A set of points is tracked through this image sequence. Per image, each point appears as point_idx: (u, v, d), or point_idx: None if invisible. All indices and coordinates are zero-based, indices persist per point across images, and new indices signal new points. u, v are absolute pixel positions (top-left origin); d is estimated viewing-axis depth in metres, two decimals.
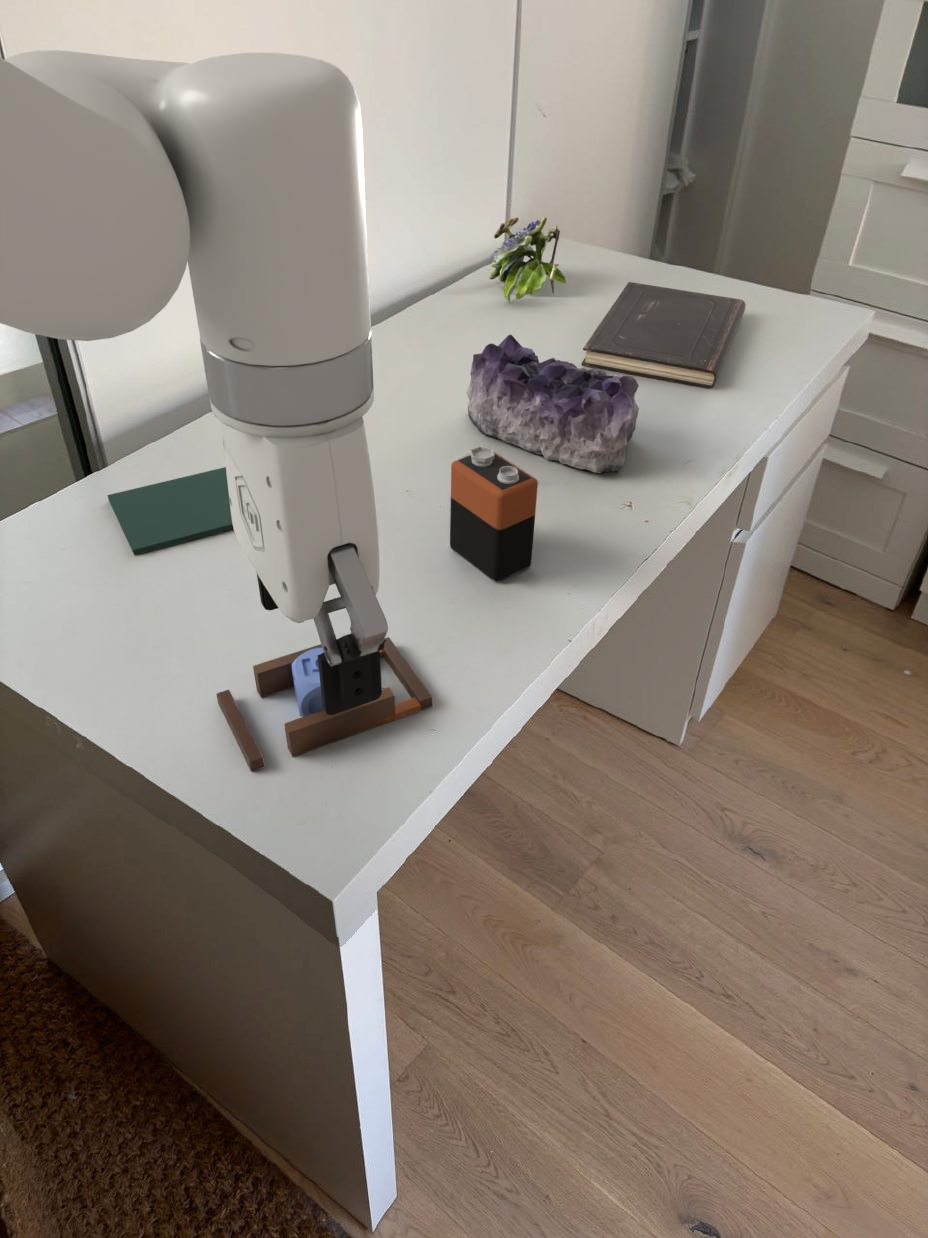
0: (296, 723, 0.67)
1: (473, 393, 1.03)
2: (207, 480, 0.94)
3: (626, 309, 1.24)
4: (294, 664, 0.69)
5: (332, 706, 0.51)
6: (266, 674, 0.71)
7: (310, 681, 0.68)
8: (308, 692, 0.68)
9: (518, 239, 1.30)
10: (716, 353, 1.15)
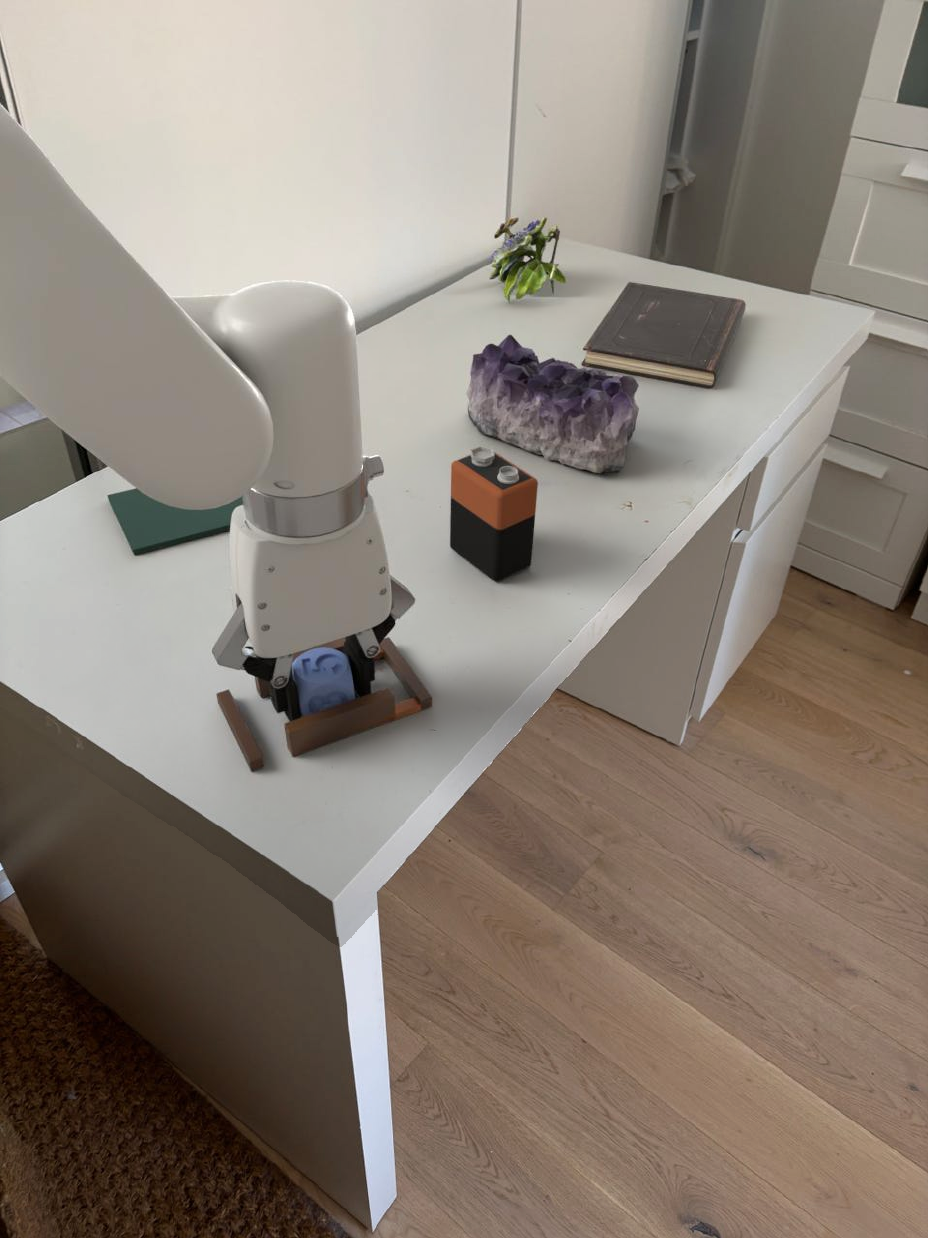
0: (296, 723, 0.67)
1: (473, 393, 1.03)
2: None
3: (626, 309, 1.24)
4: (294, 664, 0.69)
5: None
6: None
7: (309, 681, 0.68)
8: (308, 692, 0.68)
9: (518, 239, 1.30)
10: (716, 353, 1.15)
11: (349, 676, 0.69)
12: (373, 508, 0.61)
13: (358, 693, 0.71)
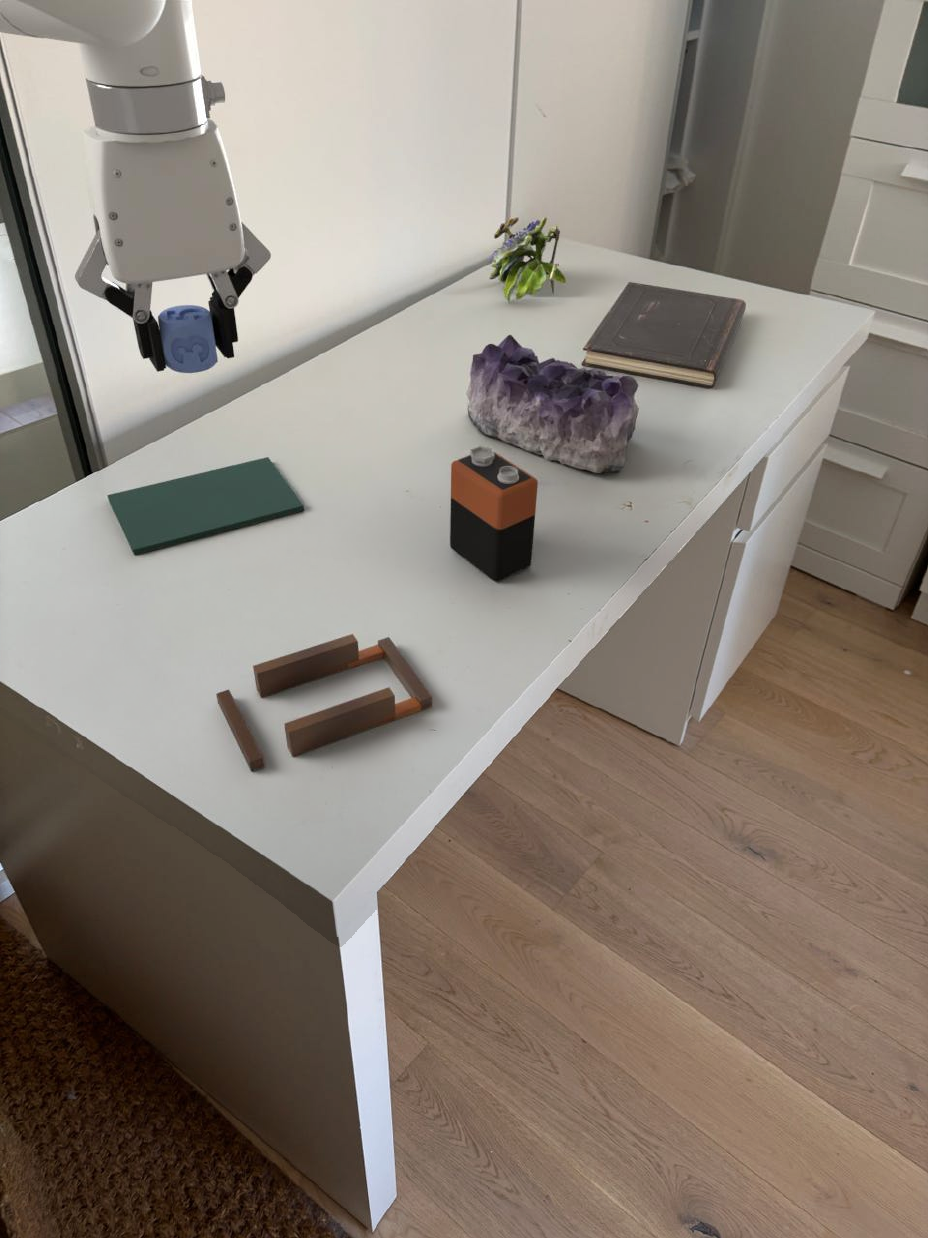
0: (296, 723, 0.67)
1: (473, 393, 1.03)
2: (207, 480, 0.94)
3: (627, 309, 1.24)
4: None
5: None
6: (266, 674, 0.71)
7: (171, 323, 0.74)
8: (170, 332, 0.74)
9: (518, 239, 1.30)
10: (716, 353, 1.15)
11: (209, 323, 0.75)
12: (215, 129, 0.67)
13: (222, 351, 0.78)
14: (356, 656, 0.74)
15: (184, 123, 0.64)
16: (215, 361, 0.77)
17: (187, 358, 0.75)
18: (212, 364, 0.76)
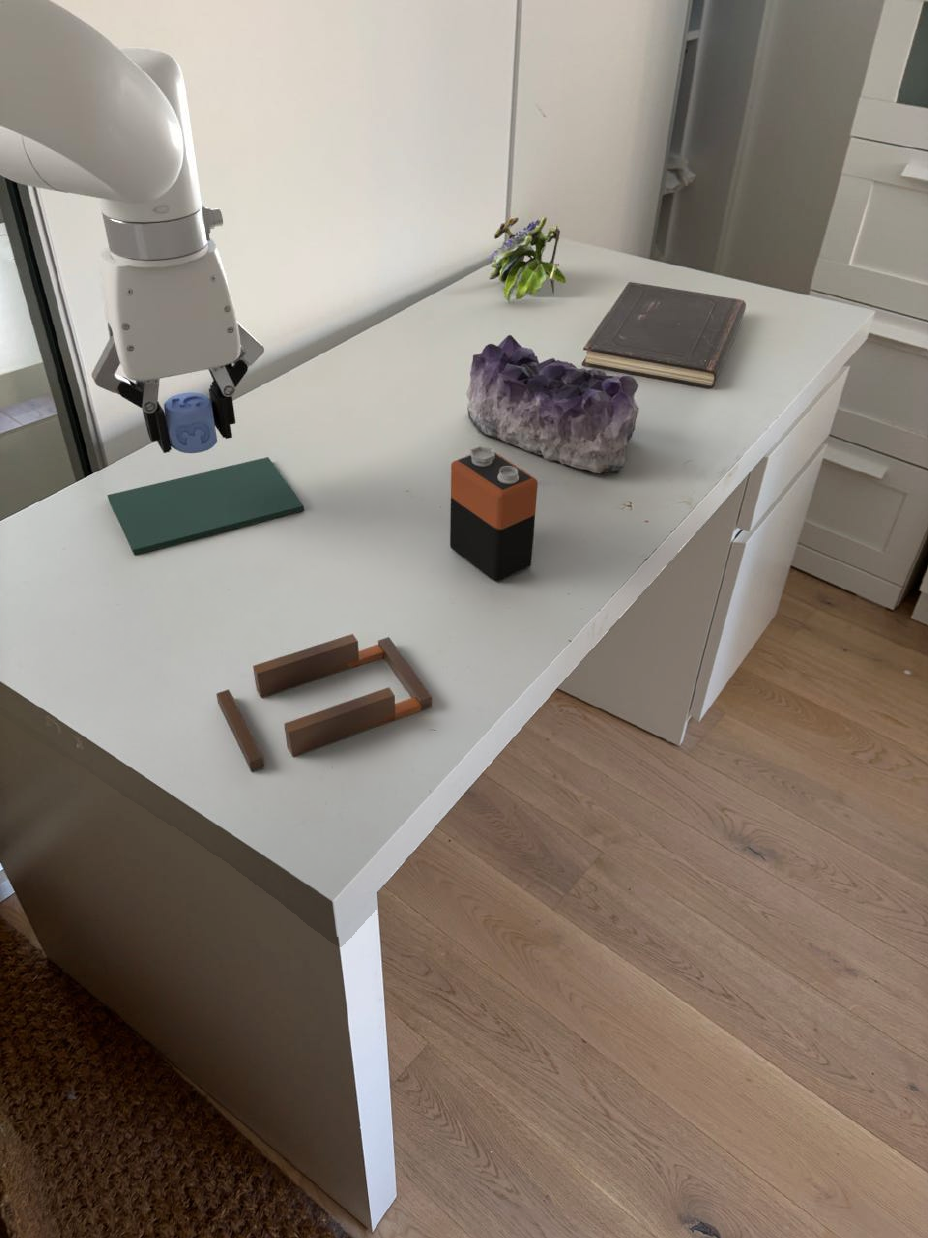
0: (296, 723, 0.67)
1: (473, 393, 1.03)
2: (207, 480, 0.94)
3: (627, 309, 1.24)
4: None
5: None
6: (266, 674, 0.71)
7: (176, 411, 0.83)
8: (175, 420, 0.83)
9: (518, 239, 1.30)
10: (716, 353, 1.15)
11: (209, 410, 0.85)
12: (214, 250, 0.77)
13: (221, 432, 0.87)
14: (356, 656, 0.74)
15: (187, 249, 0.74)
16: (215, 442, 0.86)
17: (190, 441, 0.85)
18: (212, 445, 0.86)
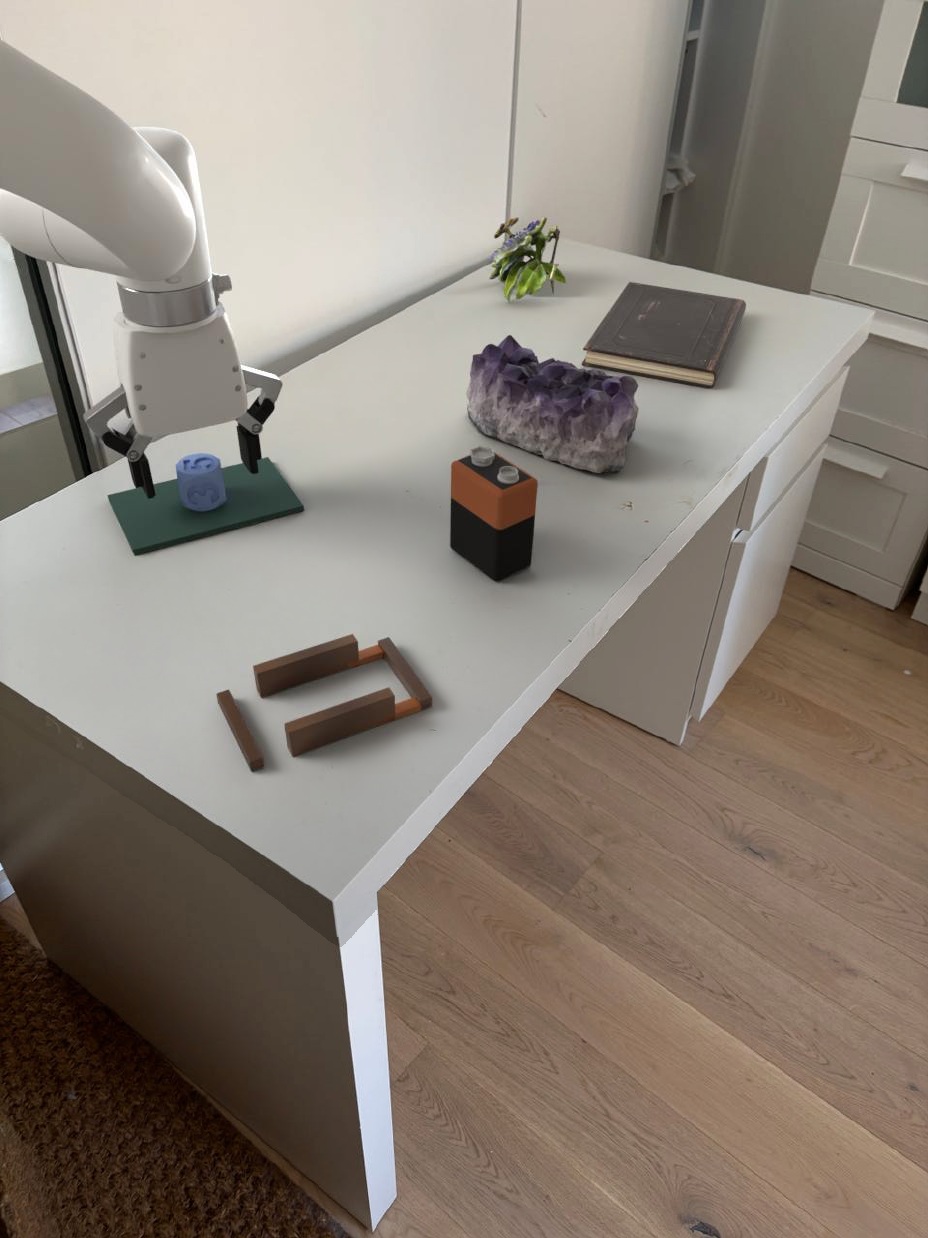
0: (296, 723, 0.67)
1: (473, 393, 1.03)
2: None
3: (627, 309, 1.24)
4: (177, 463, 0.89)
5: None
6: (266, 674, 0.71)
7: (187, 473, 0.87)
8: (186, 481, 0.87)
9: (518, 239, 1.30)
10: (716, 353, 1.15)
11: (219, 471, 0.88)
12: (223, 314, 0.80)
13: (248, 468, 0.91)
14: (356, 656, 0.74)
15: (198, 315, 0.77)
16: (224, 501, 0.90)
17: (200, 500, 0.89)
18: (221, 503, 0.90)
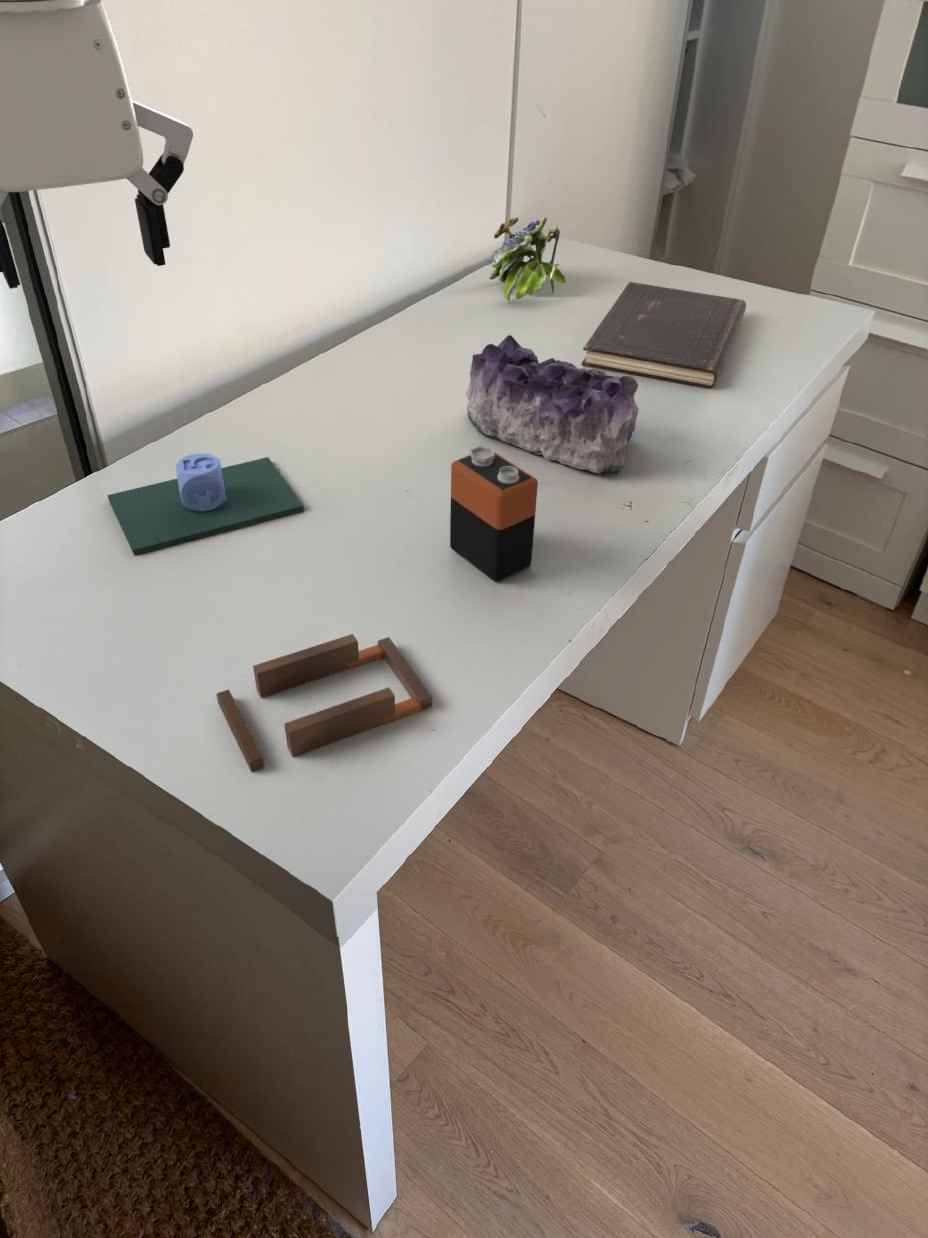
0: (296, 723, 0.67)
1: (472, 393, 1.03)
2: None
3: (627, 309, 1.24)
4: (177, 463, 0.89)
5: None
6: (266, 674, 0.71)
7: (187, 473, 0.87)
8: (186, 481, 0.87)
9: (518, 239, 1.30)
10: (716, 353, 1.15)
11: (219, 471, 0.88)
12: (98, 4, 0.57)
13: (152, 258, 0.67)
14: (356, 656, 0.74)
15: None
16: (224, 501, 0.90)
17: (200, 500, 0.89)
18: (221, 503, 0.90)
